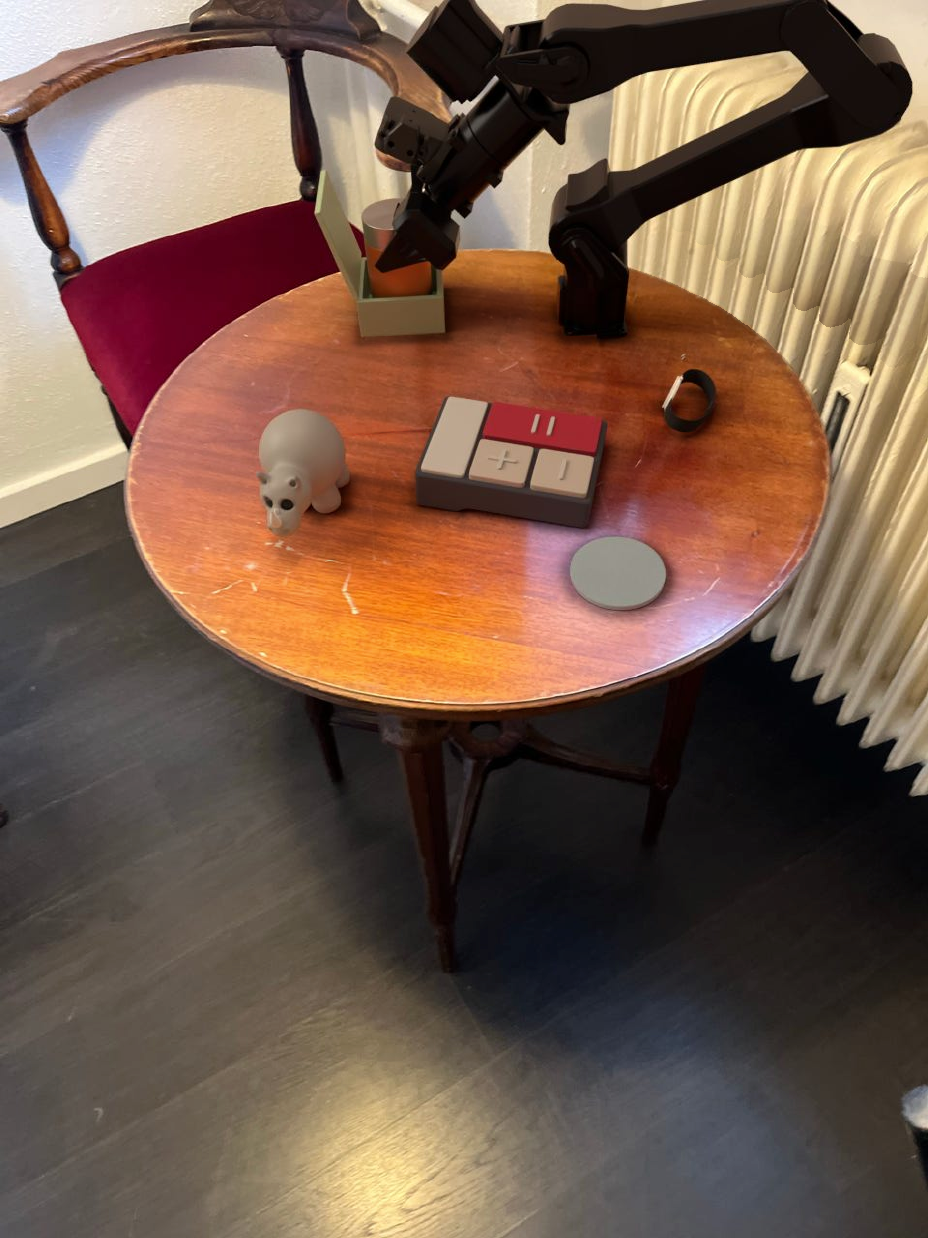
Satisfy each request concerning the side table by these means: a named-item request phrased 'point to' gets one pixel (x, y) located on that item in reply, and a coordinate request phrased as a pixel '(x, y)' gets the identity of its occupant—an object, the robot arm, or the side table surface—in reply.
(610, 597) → the coaster
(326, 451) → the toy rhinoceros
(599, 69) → the robot arm
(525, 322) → the side table surface
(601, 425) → the button control panel
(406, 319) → the box
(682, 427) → the watch
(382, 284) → the can
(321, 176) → the box lid
